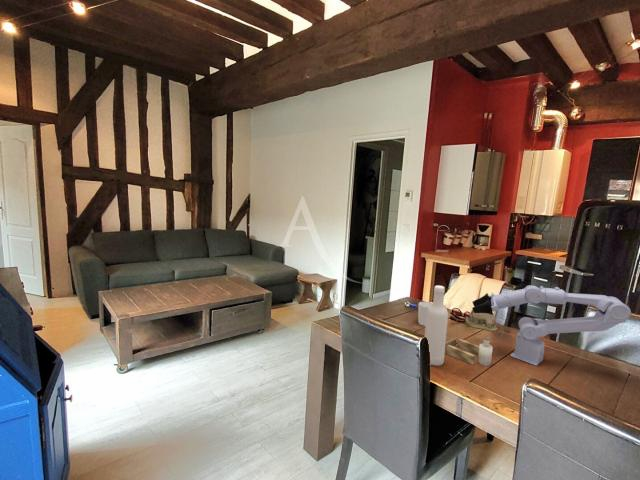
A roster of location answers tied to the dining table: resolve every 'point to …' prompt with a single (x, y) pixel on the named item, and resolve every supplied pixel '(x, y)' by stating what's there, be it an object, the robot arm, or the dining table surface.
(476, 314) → the ceramic model
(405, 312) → the dining table surface
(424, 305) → the white cup
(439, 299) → the bottle
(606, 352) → the dining table surface
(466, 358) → the u rest
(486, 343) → the bottle
